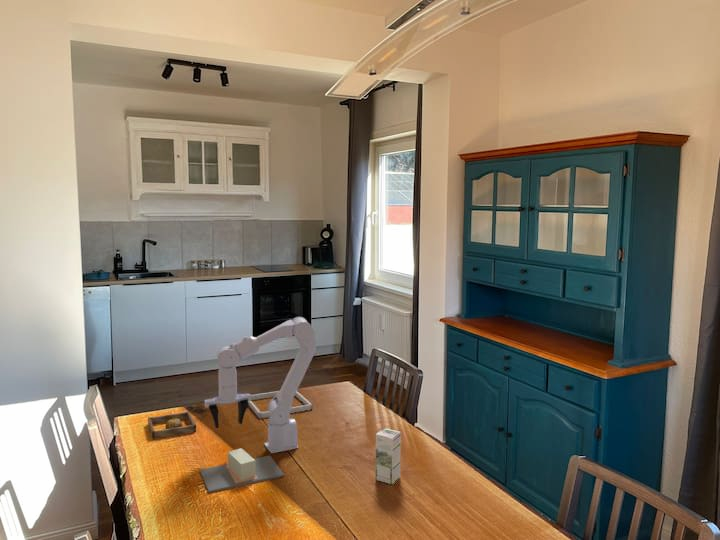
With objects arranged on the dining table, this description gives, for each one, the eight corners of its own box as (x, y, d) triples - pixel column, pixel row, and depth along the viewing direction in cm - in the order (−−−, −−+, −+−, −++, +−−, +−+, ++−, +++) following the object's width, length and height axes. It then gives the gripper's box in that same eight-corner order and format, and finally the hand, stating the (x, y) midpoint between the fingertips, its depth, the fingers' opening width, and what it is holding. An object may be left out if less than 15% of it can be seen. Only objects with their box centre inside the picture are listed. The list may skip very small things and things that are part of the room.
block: (255, 476, 161) (255, 460, 160) (241, 480, 158) (241, 464, 158) (241, 463, 169) (241, 448, 168) (228, 467, 166) (227, 451, 166)
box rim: (294, 393, 236) (294, 388, 236) (312, 409, 217) (312, 404, 216) (244, 400, 226) (244, 395, 226) (259, 418, 207) (259, 413, 207)
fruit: (174, 436, 191) (173, 426, 190) (159, 431, 195) (158, 421, 195) (193, 428, 198) (192, 419, 197) (178, 423, 202) (178, 414, 202)
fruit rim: (189, 417, 207) (189, 411, 207) (196, 431, 194) (195, 425, 194) (148, 424, 201) (148, 417, 200) (152, 439, 188) (152, 432, 187)
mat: (270, 457, 175) (270, 455, 175) (284, 476, 162) (284, 474, 162) (199, 471, 165) (199, 469, 165) (208, 492, 152) (208, 490, 152)
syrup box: (400, 477, 162) (401, 430, 160) (391, 486, 157) (392, 437, 155) (384, 472, 165) (384, 426, 163) (374, 481, 160) (375, 433, 158)
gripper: (246, 377, 182) (247, 417, 184) (202, 383, 176) (203, 424, 177) (252, 383, 176) (253, 424, 177) (206, 390, 169) (207, 432, 171)
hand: (228, 424), depth 177 cm, fingers open, 7 cm apart
